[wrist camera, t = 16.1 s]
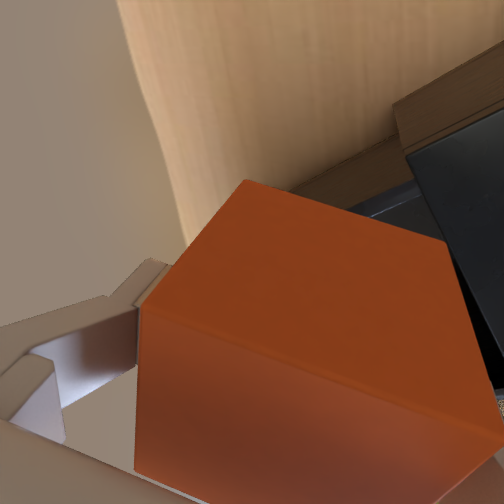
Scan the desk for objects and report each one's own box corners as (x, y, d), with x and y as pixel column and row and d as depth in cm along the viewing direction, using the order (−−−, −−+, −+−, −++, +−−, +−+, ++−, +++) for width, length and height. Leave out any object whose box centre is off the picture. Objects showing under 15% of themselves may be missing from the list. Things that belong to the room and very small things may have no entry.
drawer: (293, 359, 32) (274, 443, 26) (195, 229, 28) (142, 291, 21) (544, 294, 23) (609, 399, 17) (458, 83, 19) (502, 118, 12)
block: (365, 373, 11) (360, 570, 7) (214, 318, 12) (131, 472, 8) (447, 240, 8) (513, 444, 4) (244, 177, 9) (137, 304, 5)
